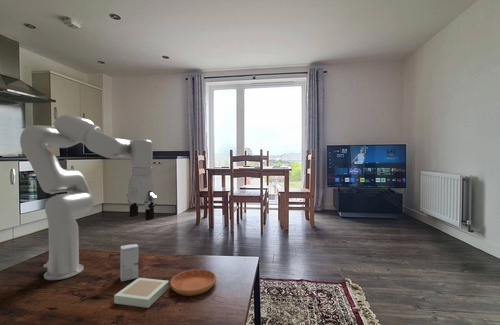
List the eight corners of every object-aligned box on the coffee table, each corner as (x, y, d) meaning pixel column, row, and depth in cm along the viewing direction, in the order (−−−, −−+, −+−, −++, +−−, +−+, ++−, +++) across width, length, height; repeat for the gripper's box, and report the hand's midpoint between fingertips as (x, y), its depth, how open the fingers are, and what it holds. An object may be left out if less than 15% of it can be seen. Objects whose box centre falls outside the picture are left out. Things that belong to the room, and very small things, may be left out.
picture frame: (114, 303, 77) (114, 295, 77) (138, 284, 89) (138, 277, 89) (148, 307, 75) (148, 299, 75) (169, 287, 87) (169, 280, 87)
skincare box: (121, 282, 91) (120, 249, 91) (119, 277, 95) (119, 246, 95) (139, 277, 94) (138, 246, 94) (137, 273, 98) (136, 243, 98)
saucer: (161, 289, 87) (160, 280, 87) (196, 272, 99) (196, 265, 99) (190, 305, 77) (190, 295, 77) (225, 284, 90) (225, 276, 90)
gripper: (119, 172, 94) (118, 216, 94) (147, 173, 85) (146, 223, 85) (137, 171, 100) (137, 213, 100) (165, 172, 91) (164, 219, 91)
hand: (141, 217), depth 93 cm, fingers open, 9 cm apart
